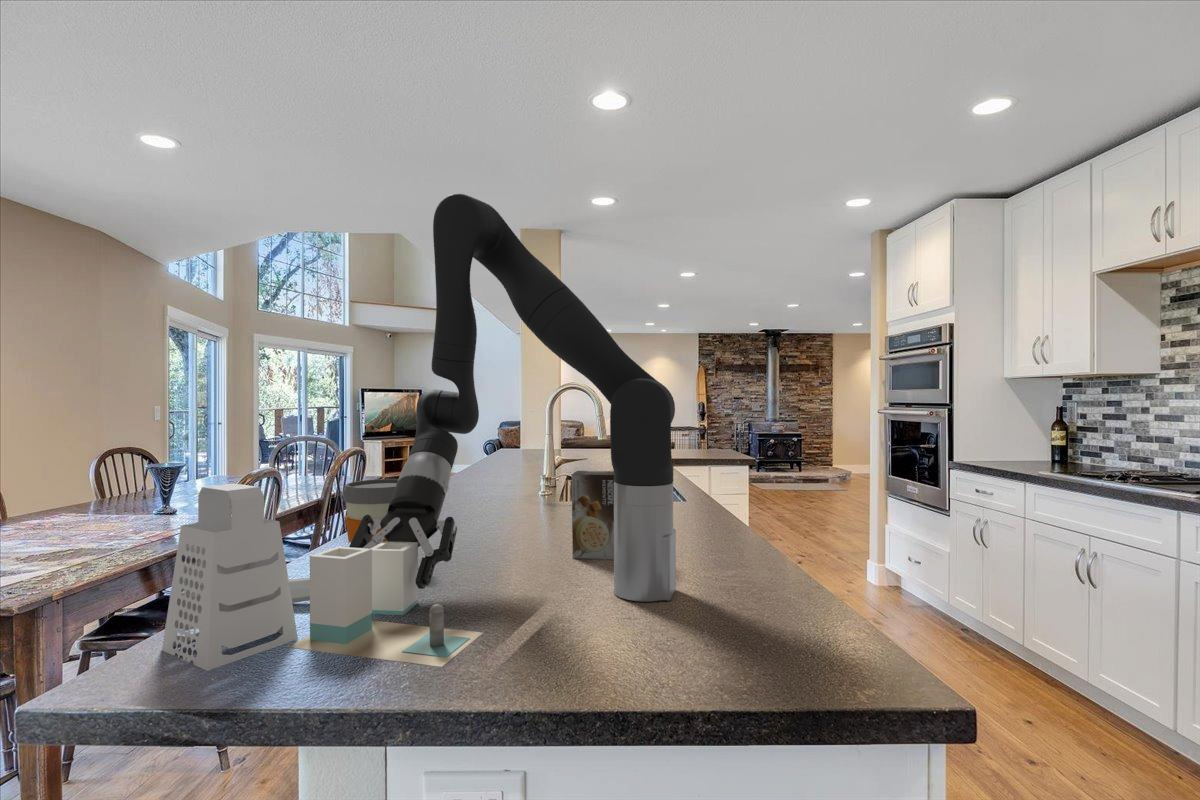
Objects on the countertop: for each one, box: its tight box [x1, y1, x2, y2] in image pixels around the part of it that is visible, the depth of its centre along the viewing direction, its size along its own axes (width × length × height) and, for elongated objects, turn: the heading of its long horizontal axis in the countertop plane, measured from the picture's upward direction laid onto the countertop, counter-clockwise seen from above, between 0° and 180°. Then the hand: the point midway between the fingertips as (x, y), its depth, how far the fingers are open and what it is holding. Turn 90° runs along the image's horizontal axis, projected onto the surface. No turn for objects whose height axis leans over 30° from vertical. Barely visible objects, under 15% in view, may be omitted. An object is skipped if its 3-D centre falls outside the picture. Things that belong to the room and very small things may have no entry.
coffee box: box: [571, 470, 614, 560], centre depth 119 cm, size 9×6×16 cm
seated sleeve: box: [309, 546, 373, 644], centre depth 76 cm, size 5×5×10 cm
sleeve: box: [371, 542, 419, 616], centre depth 85 cm, size 5×5×10 cm
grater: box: [161, 482, 299, 672], centre depth 73 cm, size 10×10×20 cm
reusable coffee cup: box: [343, 478, 399, 544], centre depth 112 cm, size 13×13×15 cm
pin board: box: [287, 603, 484, 668], centre depth 74 cm, size 20×10×6 cm, turn 75°
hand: (389, 585), depth 84 cm, fingers open, 8 cm apart
